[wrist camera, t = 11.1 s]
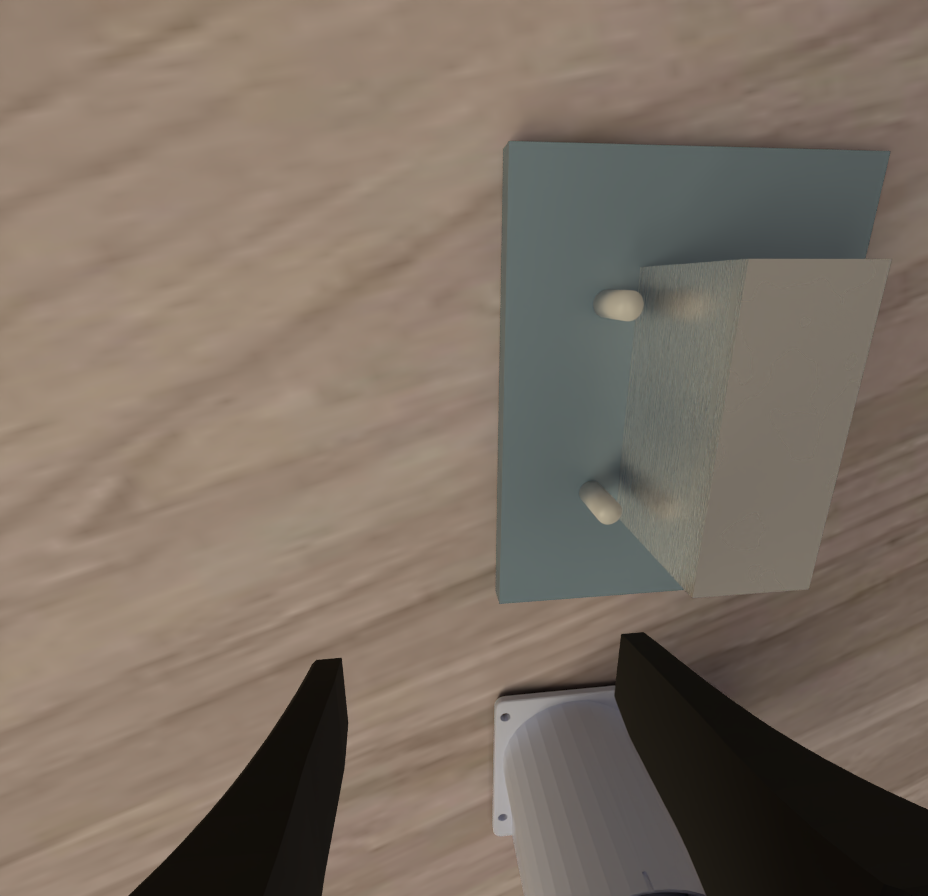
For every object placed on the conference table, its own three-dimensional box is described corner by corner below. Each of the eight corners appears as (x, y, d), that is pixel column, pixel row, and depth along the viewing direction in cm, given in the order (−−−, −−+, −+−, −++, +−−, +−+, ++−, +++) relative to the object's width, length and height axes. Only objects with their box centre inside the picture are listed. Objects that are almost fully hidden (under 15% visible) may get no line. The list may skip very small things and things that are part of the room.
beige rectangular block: (704, 509, 22) (811, 589, 16) (615, 514, 21) (692, 598, 16) (744, 267, 18) (895, 259, 13) (640, 267, 18) (748, 258, 12)
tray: (774, 570, 24) (823, 607, 22) (495, 590, 23) (508, 633, 20) (866, 158, 19) (948, 135, 16) (503, 148, 17) (522, 122, 14)
